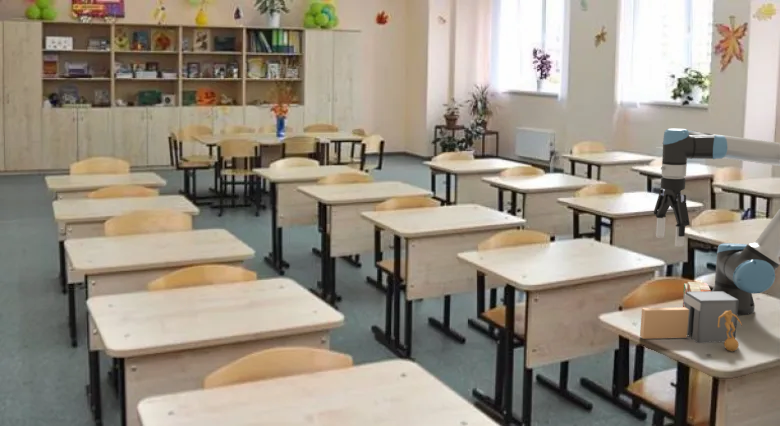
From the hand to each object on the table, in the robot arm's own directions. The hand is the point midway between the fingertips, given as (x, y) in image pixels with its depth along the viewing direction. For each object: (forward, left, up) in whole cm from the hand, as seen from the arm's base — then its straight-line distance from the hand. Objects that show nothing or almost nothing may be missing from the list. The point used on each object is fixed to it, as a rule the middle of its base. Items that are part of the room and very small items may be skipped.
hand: (669, 241), depth 276 cm
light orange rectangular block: (+9, +19, -26) cm, 33 cm away
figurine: (-7, +31, -26) cm, 41 cm away
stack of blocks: (-11, 0, -27) cm, 29 cm away
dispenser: (-6, +19, -26) cm, 33 cm away
